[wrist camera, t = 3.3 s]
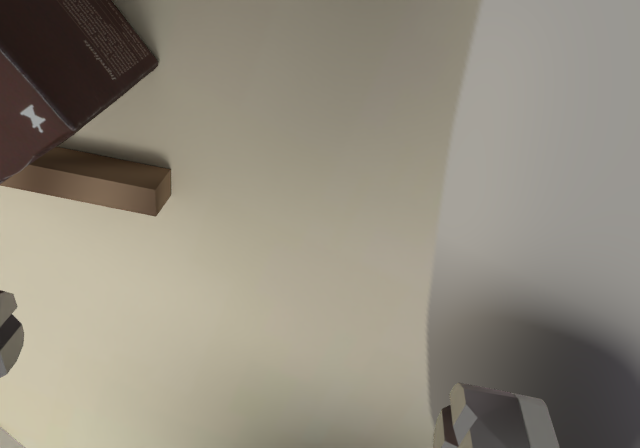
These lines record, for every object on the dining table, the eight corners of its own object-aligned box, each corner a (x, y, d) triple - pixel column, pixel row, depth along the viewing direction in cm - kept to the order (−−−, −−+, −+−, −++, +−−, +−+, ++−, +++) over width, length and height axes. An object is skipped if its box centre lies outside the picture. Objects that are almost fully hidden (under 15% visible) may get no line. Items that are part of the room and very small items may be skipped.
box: (62, -74, 19) (-88, -55, 13) (165, 64, 22) (79, 133, 16) (-31, 10, 21) (-196, 60, 15) (71, 126, 24) (-34, 208, 18)
